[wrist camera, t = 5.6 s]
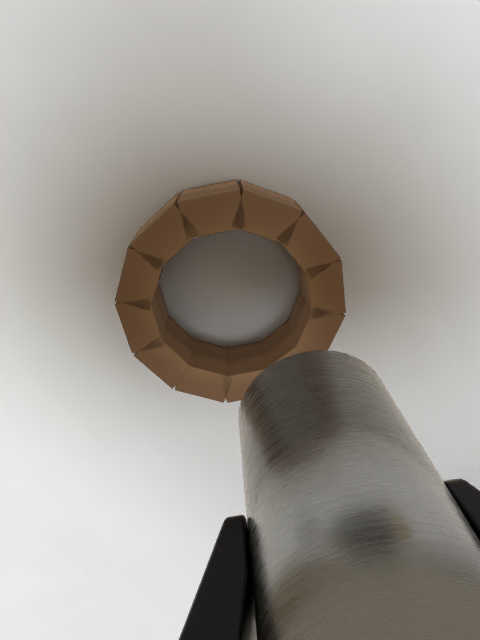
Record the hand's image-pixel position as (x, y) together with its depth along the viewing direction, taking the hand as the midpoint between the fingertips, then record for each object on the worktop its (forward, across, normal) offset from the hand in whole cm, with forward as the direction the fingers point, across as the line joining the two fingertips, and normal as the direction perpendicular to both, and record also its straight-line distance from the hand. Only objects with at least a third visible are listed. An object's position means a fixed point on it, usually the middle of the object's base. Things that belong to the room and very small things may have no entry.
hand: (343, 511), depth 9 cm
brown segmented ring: (+12, +2, 0) cm, 12 cm away
